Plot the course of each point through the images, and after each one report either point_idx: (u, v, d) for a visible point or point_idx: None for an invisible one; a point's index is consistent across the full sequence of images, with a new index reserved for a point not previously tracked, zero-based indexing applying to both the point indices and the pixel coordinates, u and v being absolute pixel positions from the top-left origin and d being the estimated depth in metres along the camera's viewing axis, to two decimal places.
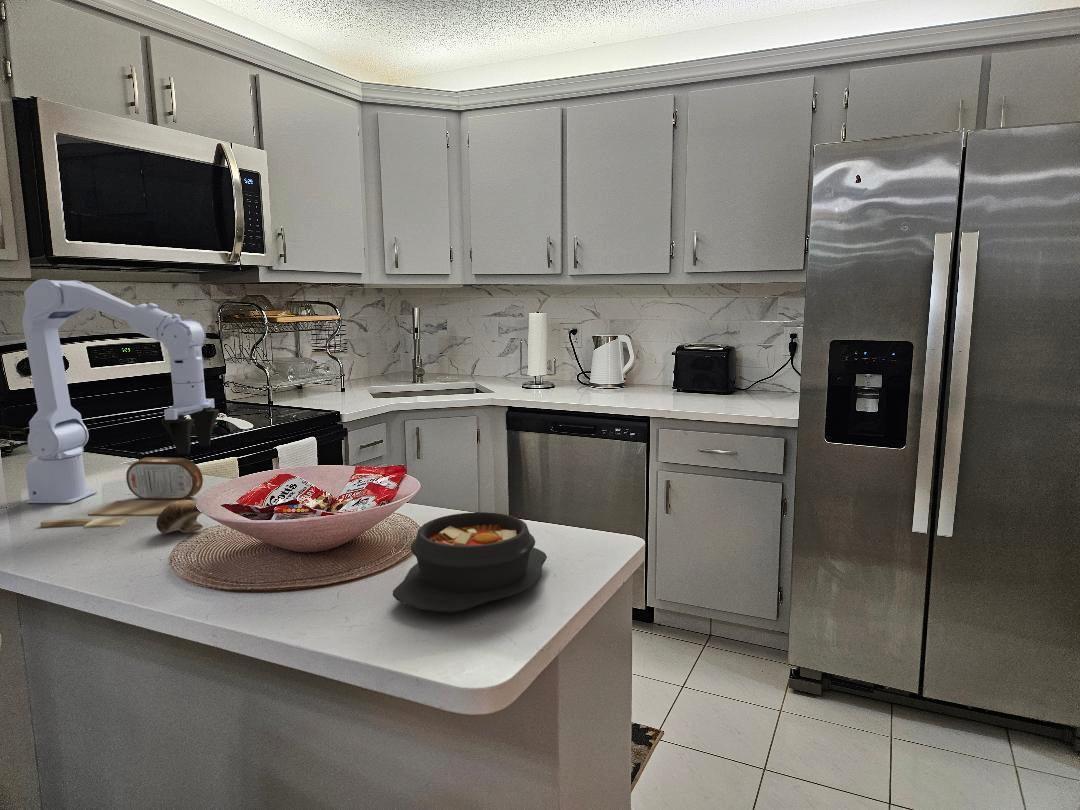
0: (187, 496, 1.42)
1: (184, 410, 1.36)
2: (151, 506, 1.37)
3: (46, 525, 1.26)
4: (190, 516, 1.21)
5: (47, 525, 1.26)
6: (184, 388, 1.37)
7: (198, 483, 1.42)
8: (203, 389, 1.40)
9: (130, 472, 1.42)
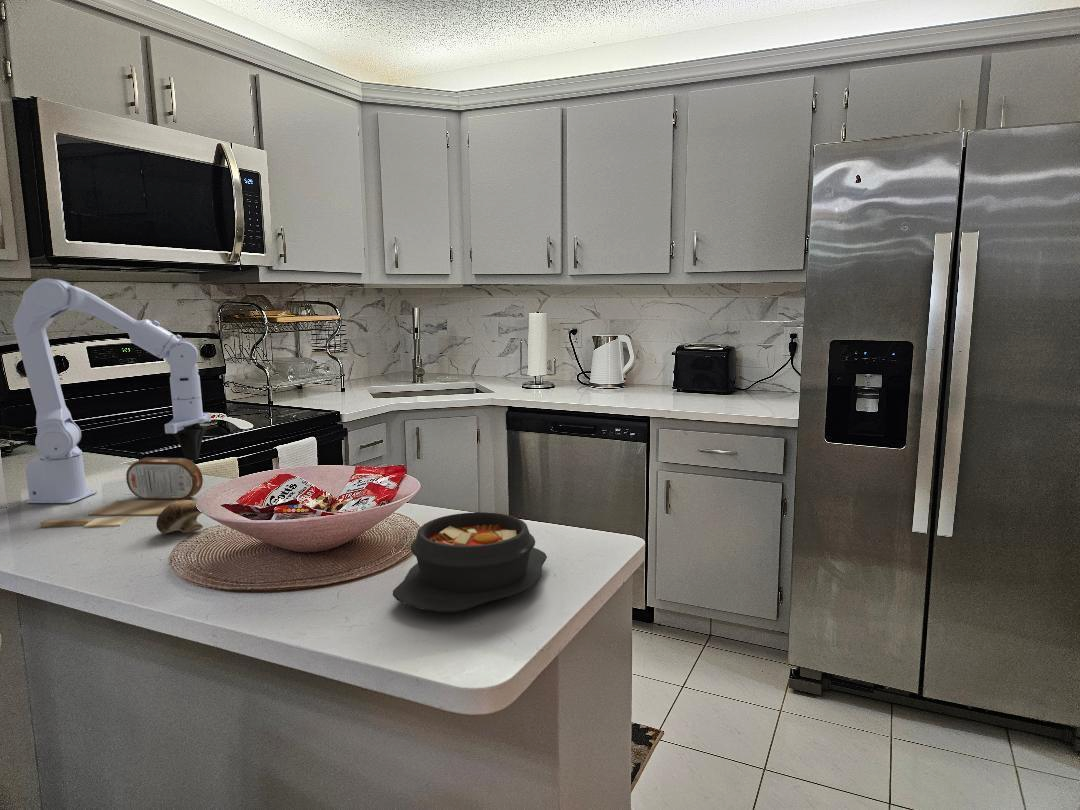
0: (187, 496, 1.42)
1: (183, 424, 1.47)
2: (151, 506, 1.37)
3: (46, 525, 1.26)
4: (190, 516, 1.21)
5: (47, 525, 1.26)
6: (183, 404, 1.48)
7: (198, 483, 1.42)
8: (200, 404, 1.51)
9: (130, 472, 1.42)
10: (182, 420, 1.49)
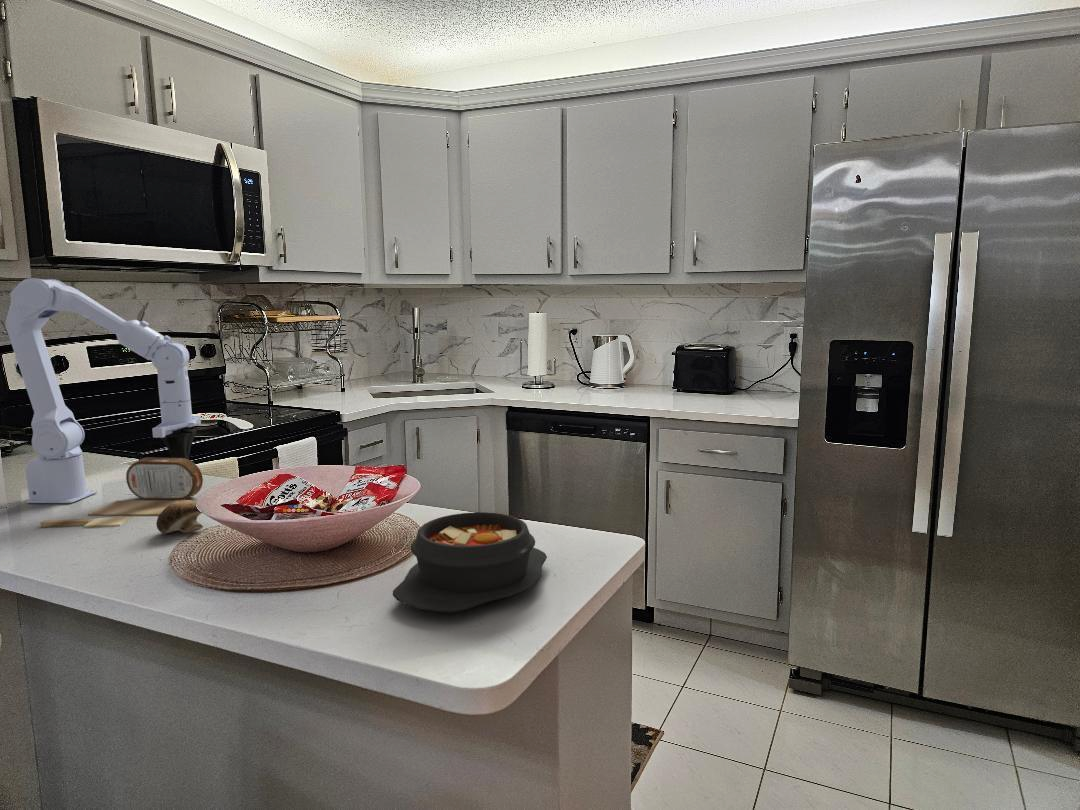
0: (187, 496, 1.42)
1: (171, 428, 1.43)
2: (151, 506, 1.37)
3: (46, 525, 1.26)
4: (190, 516, 1.21)
5: (47, 525, 1.26)
6: (171, 407, 1.44)
7: (198, 483, 1.42)
8: (189, 408, 1.47)
9: (130, 472, 1.42)
10: (170, 424, 1.45)
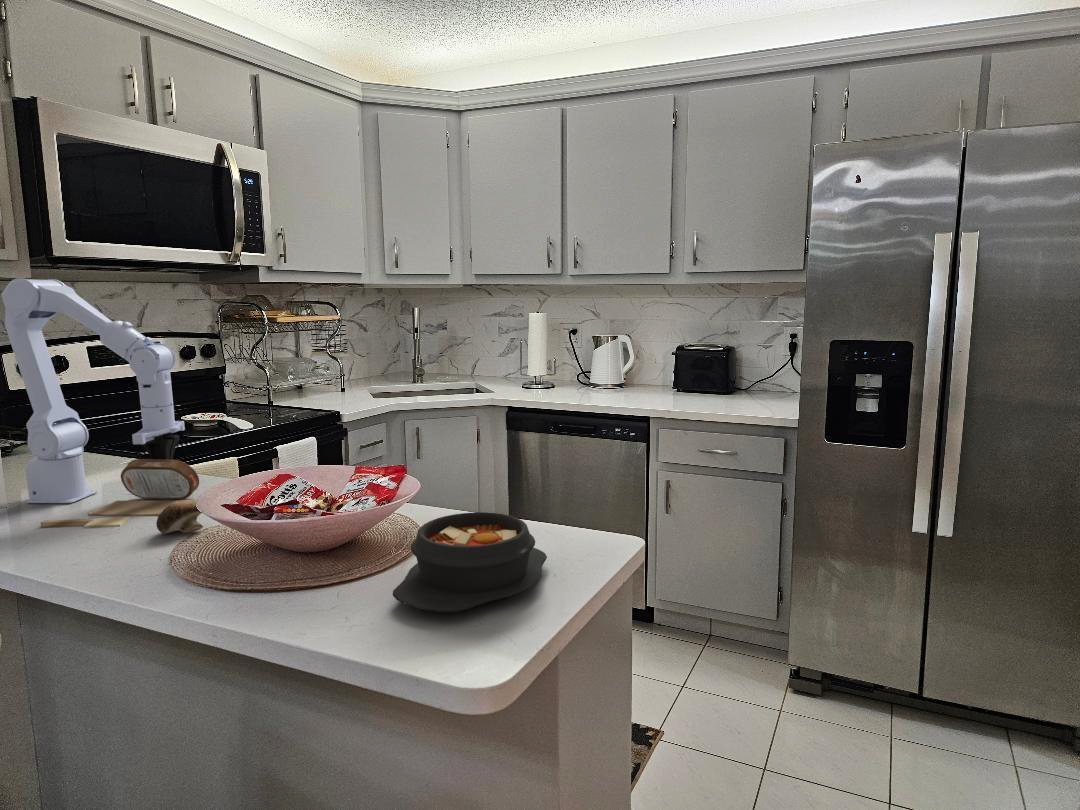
0: (186, 496, 1.41)
1: (152, 434, 1.36)
2: (151, 506, 1.37)
3: (46, 525, 1.26)
4: (190, 516, 1.21)
5: (47, 525, 1.26)
6: (152, 412, 1.38)
7: (195, 483, 1.41)
8: (172, 413, 1.41)
9: (124, 476, 1.40)
10: (152, 430, 1.38)
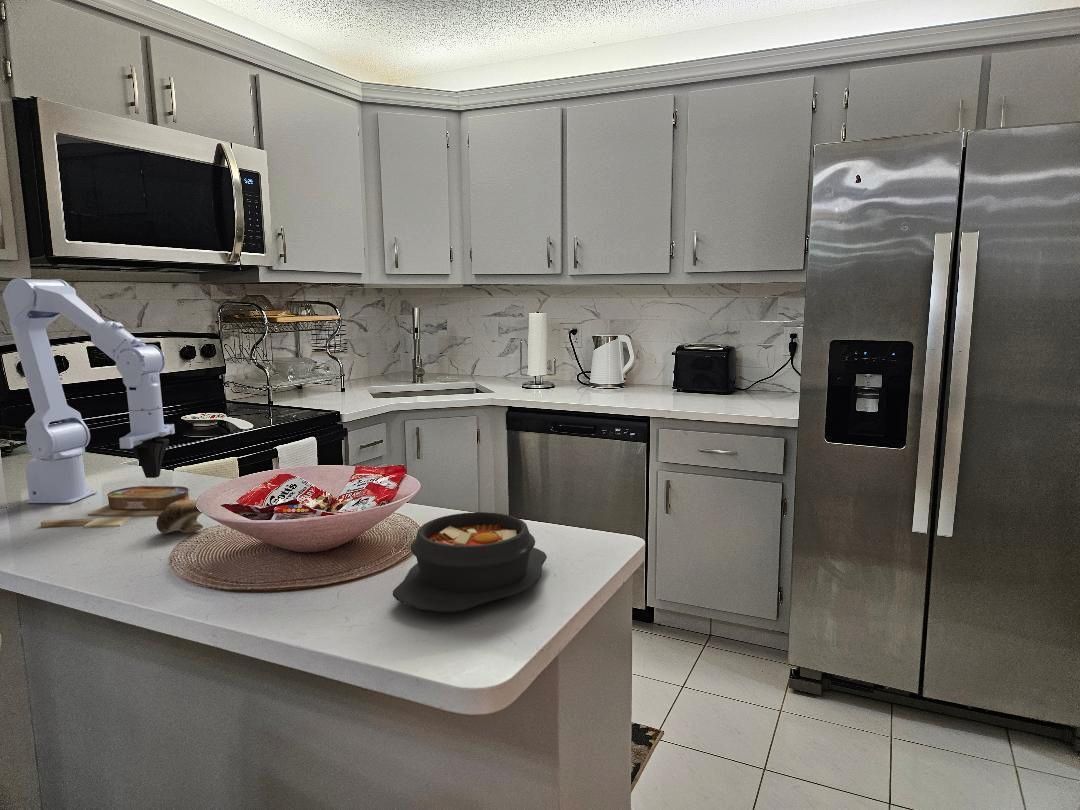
0: None
1: (140, 438, 1.33)
2: None
3: (46, 525, 1.26)
4: (190, 516, 1.21)
5: (47, 525, 1.26)
6: (141, 415, 1.34)
7: (186, 497, 1.38)
8: (161, 416, 1.37)
9: None
10: (140, 433, 1.35)
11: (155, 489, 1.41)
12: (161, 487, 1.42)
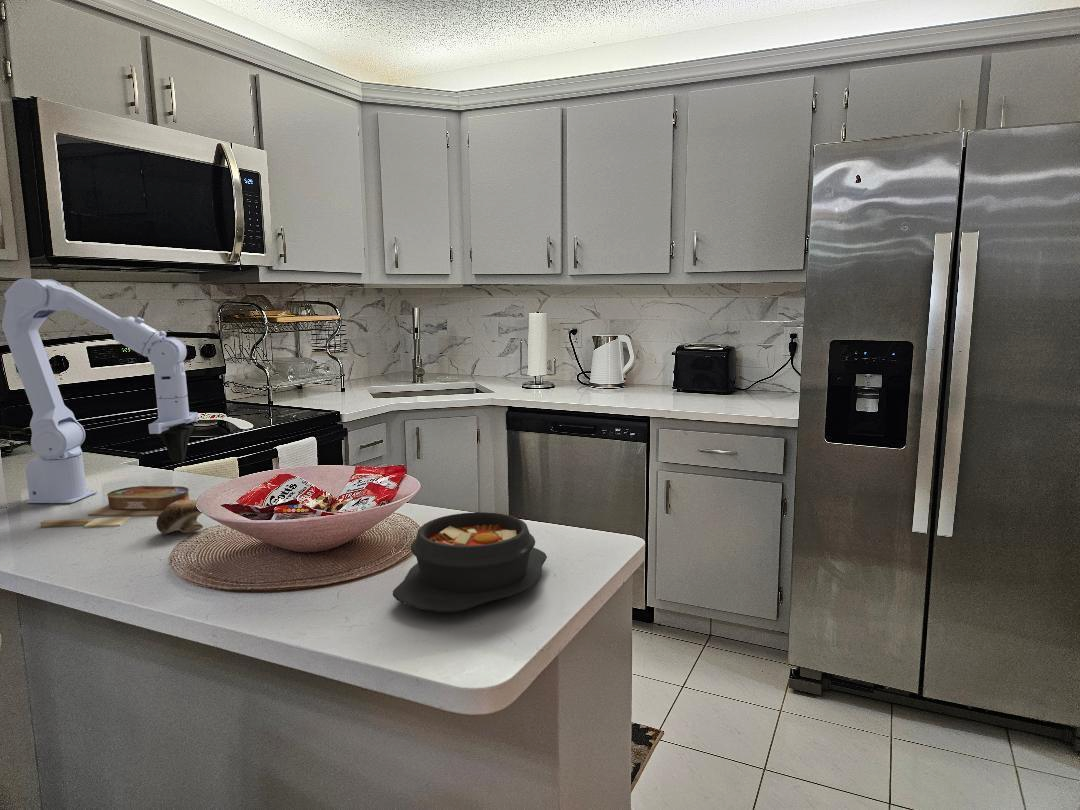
0: None
1: (168, 424, 1.42)
2: None
3: (46, 525, 1.26)
4: (190, 516, 1.21)
5: (47, 525, 1.26)
6: (168, 403, 1.43)
7: (186, 497, 1.38)
8: (186, 404, 1.46)
9: None
10: (167, 420, 1.43)
11: (155, 489, 1.41)
12: (161, 487, 1.42)
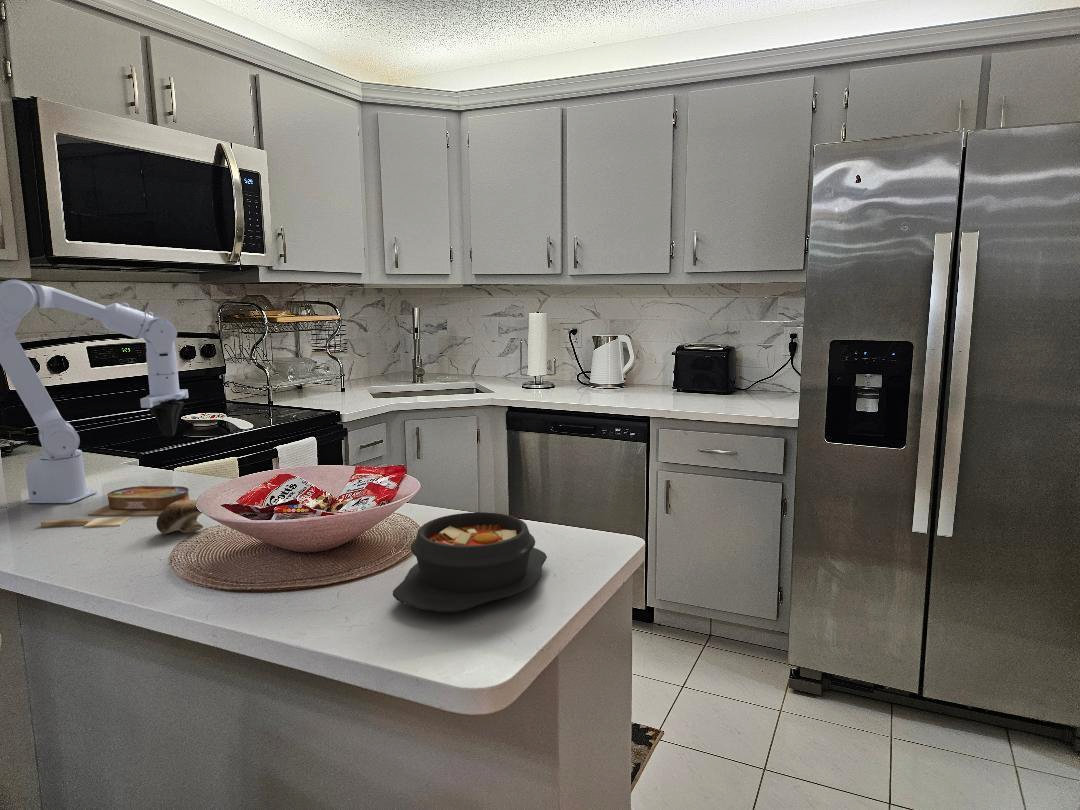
0: None
1: (159, 399, 1.49)
2: None
3: (46, 525, 1.26)
4: (190, 516, 1.21)
5: (47, 525, 1.26)
6: (159, 379, 1.50)
7: (186, 497, 1.38)
8: (177, 380, 1.53)
9: None
10: (158, 395, 1.50)
11: (155, 489, 1.41)
12: (161, 487, 1.42)
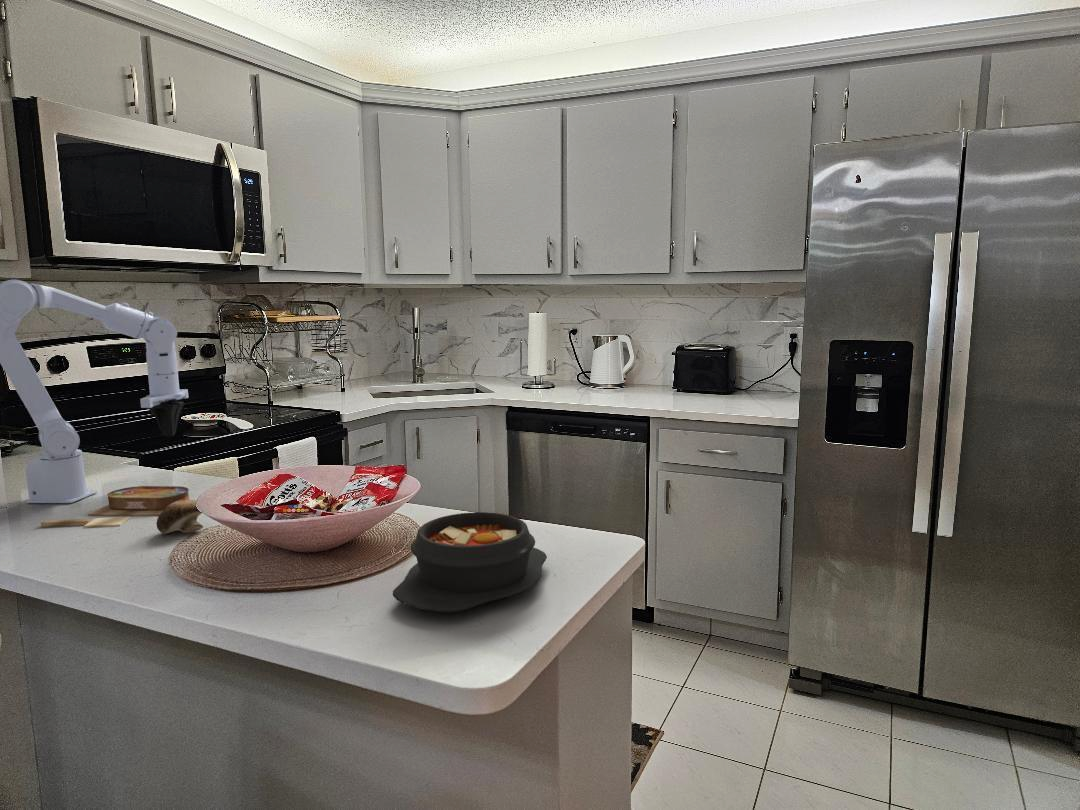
0: None
1: (159, 399, 1.49)
2: None
3: (46, 525, 1.26)
4: (190, 516, 1.21)
5: (47, 525, 1.26)
6: (159, 379, 1.50)
7: (186, 497, 1.38)
8: (177, 380, 1.53)
9: None
10: (158, 395, 1.50)
11: (155, 489, 1.41)
12: (161, 487, 1.42)
